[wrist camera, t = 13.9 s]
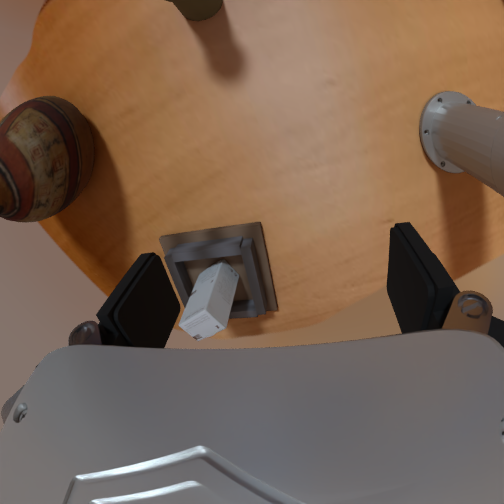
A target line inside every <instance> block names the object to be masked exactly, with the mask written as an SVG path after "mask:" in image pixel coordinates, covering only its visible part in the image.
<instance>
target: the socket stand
mask: <svg viewBox="0 0 504 504" xmlns="http://www.w3.org/2000/svg"><path fill="white" fill-rule="evenodd" d="M159 240H160V243H161V246H162V248H163V251H164V254H165V257H164V259H165V262H166V264H167V267H168V269H169V272H170V274H171V276H172V279H173V281H174V284H175V286H176V288H177V291H178V293H179V296H180V298H181V300H182V303H183V305H184V307H185V308H186V305H187V303H188V300H189V298H190V295H191V293H192V290H193V288H194V286H195V283H196V281H197V279H198V276H199V275H200V274H201V273H202V272H203V271H205V270H206V269H207V268H209V267H210V266H212V265H213V264H215V263H217V262H218V261H220V260H223V259H224V260H225V261H226V262H227V263H228V264H229V265H230V266H231V267H232V268H233V269H234V270H235V271H236V272H237V273H238V274H239V279H238V283H237V287H236V291H235V295H234V299H233V303H232V307H231V311H230V315H229V319H230V318H248V317H258V315H261V314H266V311H273V310H277V302H276V297H275V291H274V286H273V281H272V276H271V271H270V266H269V261H268V256H267V251H266V246H265V241H264V236H263V231H262V227H261V222H255V223H248V224H240V225H233V226H226V227H218V228H211V229H204V230H198V231H191V232H184V233H178V234H171V235H165V236H161V237H160V238H159Z"/></svg>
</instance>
